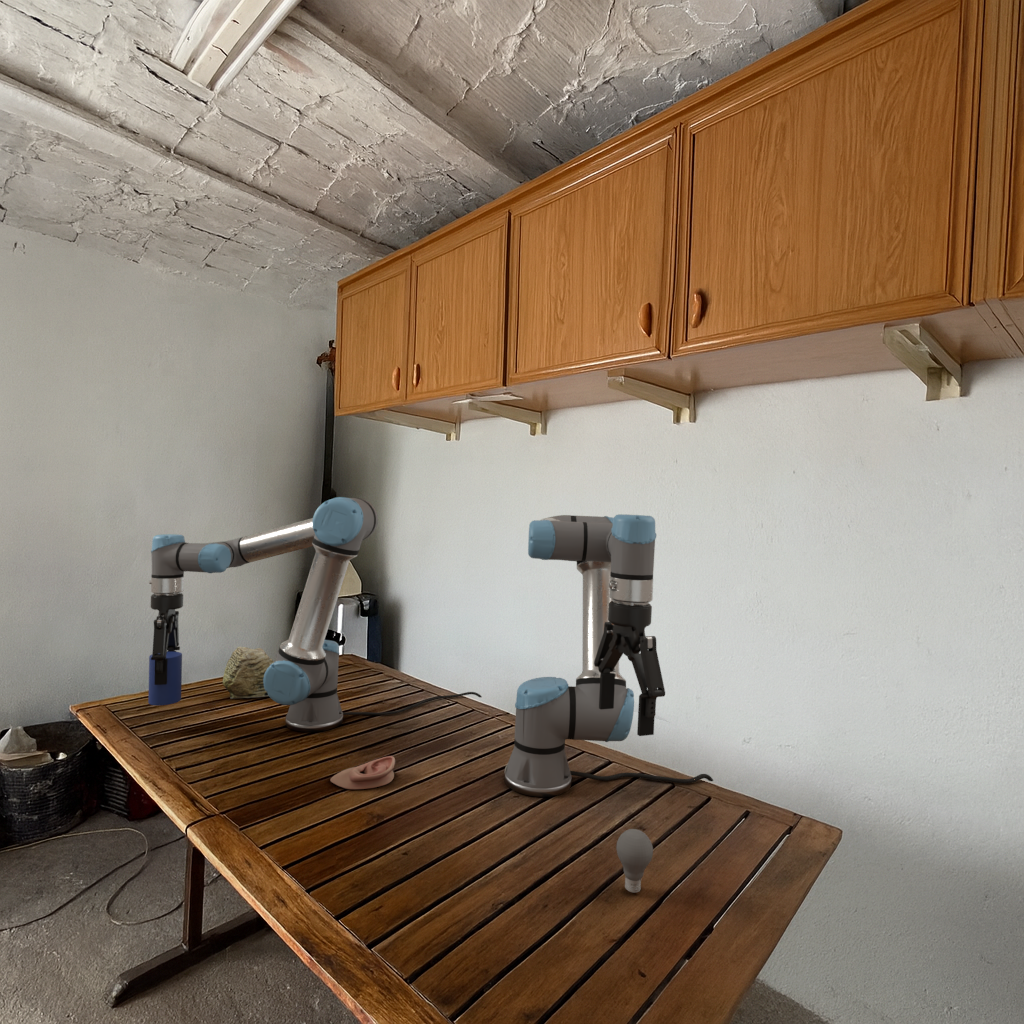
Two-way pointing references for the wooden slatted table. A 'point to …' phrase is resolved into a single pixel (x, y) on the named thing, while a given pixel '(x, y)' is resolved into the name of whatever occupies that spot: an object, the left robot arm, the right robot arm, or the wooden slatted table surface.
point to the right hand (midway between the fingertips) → (624, 721)
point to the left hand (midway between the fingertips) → (165, 679)
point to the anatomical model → (366, 774)
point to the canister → (172, 689)
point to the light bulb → (634, 857)
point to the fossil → (246, 673)
